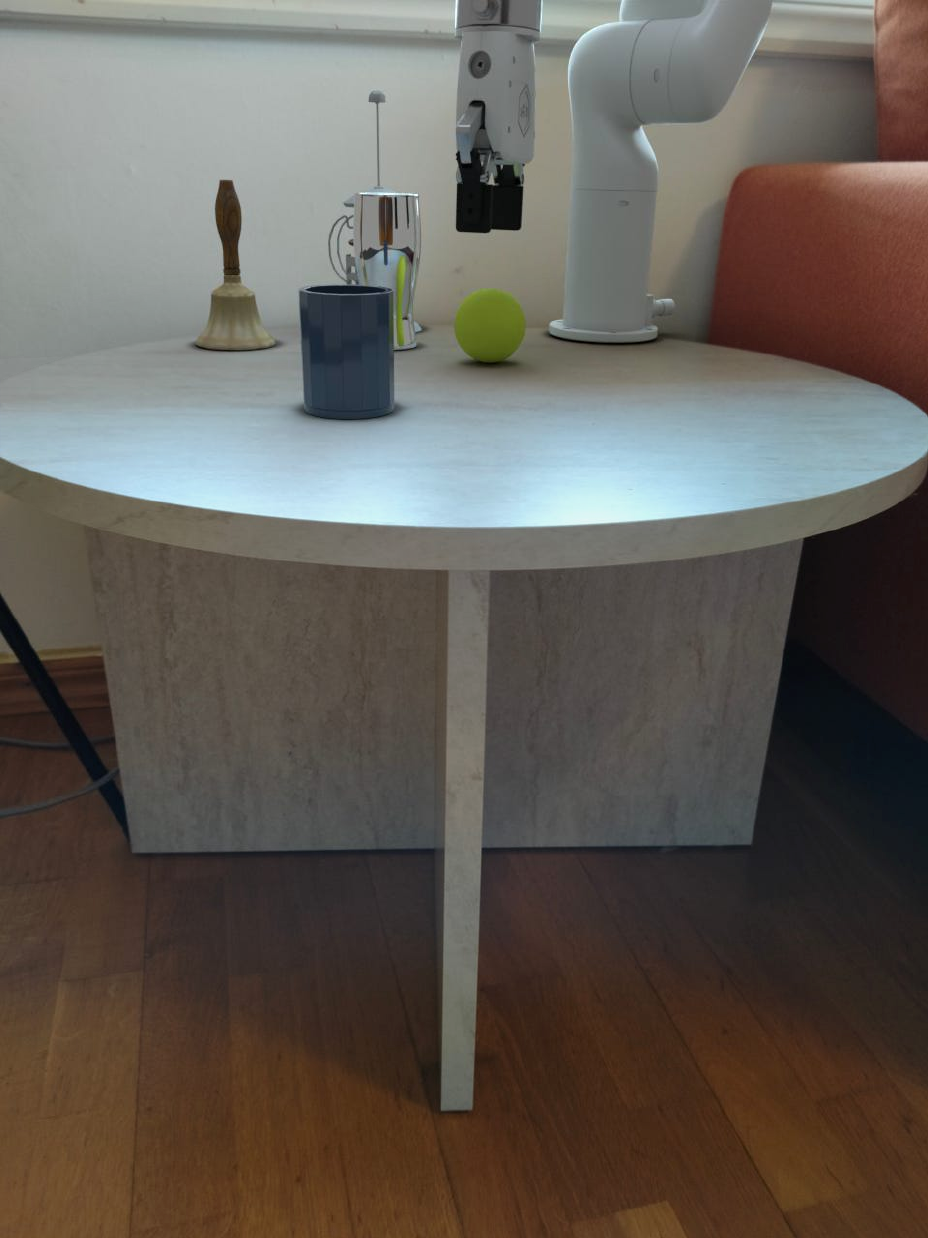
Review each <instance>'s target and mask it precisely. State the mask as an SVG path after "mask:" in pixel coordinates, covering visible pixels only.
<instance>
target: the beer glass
mask: <svg viewBox="0 0 928 1238" xmlns="http://www.w3.org/2000/svg"><path fill="white" fill-rule="evenodd" d="M353 195H354V208H353V215H354V217H352V220H353V221H352V226H353V229H352V239H353V243H354V246H353V255H354V257H355V262H356V268H357V274H358V279H359V285H371V286H381V287H386V288H390V289H392V290H393V304H394V351H401V350H403V351H404V350H410V349H414V348H416V347H417V345H418V340H417V335H416V332H415V328H414V322H415V321H414V302H415V294H416V286H417V283H418V282H417V281H418V277H419V276H418V275H419V268H420V262H421V261H420V260H421V253H422V226H421V225H422V222H421V210H420V209H421V208H420V194H419V193H403V192H397V193H358V192H354V193H353Z"/></svg>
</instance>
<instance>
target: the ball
mask: <svg viewBox="0 0 928 1238" xmlns="http://www.w3.org/2000/svg"><path fill="white" fill-rule="evenodd" d="M526 323H527V321H526V316H525V312H524V310H523V308H522V306H521V304H520V302H518V300H517V299H516V298H515V297H514V296H513V295H512V294H510V293H508V292H507V291H505V290H502V289H499V288H494V287H487V288H480V289H479V290H475V291H474V292H472V293H470V294H469V295H467V296H466V297H465V298H464V300H463V301H462V302H461V303H460V305H459V306H458V308H457V310H456V313H455V316H454V324H453V327H454V334H455V335H454V336H455V339H456V341H457V343H458V345H459V347H460V348H461V349H462V351H463V352H464V353H465V354H466V355H467V356H469V357H470V358H471V359H473V360H476V361H477V362H481V363H487V364H490V363H491V364H493V363H499V362H502V361H504V360H506V359H507V358H510V357H511V356H512V355H513V354H515V353H516V351H517V350H518V349H519V348H520V347H521V344H522V342H523V340H524V337H525V335H526V328H527V326H526V325H527V324H526Z"/></svg>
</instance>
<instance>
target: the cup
mask: <svg viewBox="0 0 928 1238" xmlns="http://www.w3.org/2000/svg"><path fill="white" fill-rule="evenodd" d="M297 292H298V307H299V308H298V310H299V331H300V351H301V353H300V355H301V369H302V370H301V373H302V374H301V375H302V376H301V377H302V395H303V397H302V399H303V410H304V411H305V412H306V413H307V414H308V415H311V416H315V417H319V418H325V419H334V420H335V419H336V420H361V419H372V418H378V417H383V416H386V415H389V414H391V413H392V412H393V411H394V410H395V409H394V408H395V404H394V403H395V350H394V304H393V290H392V289H390V288H386V287H381V286H371V285H356V284H354V285H350V284H347V283H346V284H342V283H341V284H339V283H337V284H335V283H334V284H315V285H305V286H303V287H299V288H298V291H297Z"/></svg>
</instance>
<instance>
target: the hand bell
mask: <svg viewBox="0 0 928 1238" xmlns="http://www.w3.org/2000/svg"><path fill="white" fill-rule="evenodd" d="M214 204H215V205H214V216H215V217H214V218H215V226H216V229H217V233H218V236H219V239H220V241H221V242H220V243H221V246H222V261H223V263H222V264H223V269H222V270H223V271H222V272H223V282H222V284H221V285H219V286H218V287H217V288H215V289H213V290H212V291H211V293H210V308H209V315H208V320H207V323H206V325H205V327H204V329H203V331H201V333H200V334H199V336H198V337H197V338H196V340H195V345H196V346H198V347H200V348H204V349H208V350H209V349H210V350H216V351H218V350H220V351H252V350H261V349H268V348H272V347H274V346H275V345H276V343H277V342H276V340H275V338H274V337H273V336H272V335H271V334H270V333H269V332H268V330H267V329H266V327H265V325H264V323H263V321H262V319H261V317H260V314H259V313H260V312H259V309H258V305H257V300H256V294H255V292H254V291H253V290H252V289H250V288H248V287H246V286H245V285H244V284H243V282H242V278H241V273H242V272H241V268H240V256H239V255H240V254H239V243H240V238H241V233H242V225H243V224H242V222H243V221H242V220H243V219H242V217H243V216H242V207H241V203H240V200H239V197H238V194H237V191H236V188H235V185H234V181H233V179H219V183H218V189H217V193H216V198H215V203H214Z"/></svg>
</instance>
